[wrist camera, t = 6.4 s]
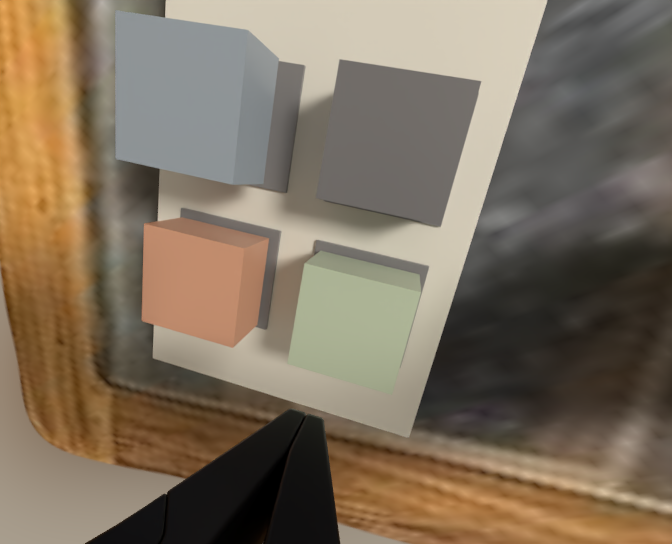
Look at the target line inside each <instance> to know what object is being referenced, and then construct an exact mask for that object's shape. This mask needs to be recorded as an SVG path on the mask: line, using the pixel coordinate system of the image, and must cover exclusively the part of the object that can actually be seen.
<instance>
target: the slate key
mask: <svg viewBox="0 0 672 544" xmlns="http://www.w3.org/2000/svg"><path fill="white" fill-rule="evenodd" d="M278 63H279V58H278V57H277V56H276V55H275V54H274V53H273V52H271V51H270V50H269V49H268V48H267V47H266V46H265V45H264V44H263V43H262V42H261V41H260V40H258V39H257V38H256V37H255V36H254V35H253V34H252V33H251V32H250V31H249V30H245V29H239V28H232V27H225V26H218V25H212V24H205V23H198V22H191V21H185V20H178V19H171V18H164V17H157V16H151V15H144V14H137V13H130V12H124V11H117V10H116V159H118V160H123V161H127V162H132V163H136V164H141V165H145V166H150V167H155V168H159V169H164V170H168V171H173V172H177V173H182V174H186V175H191V176H195V177H200V178H204V179H209V180H213V181H218V182H223V183H227V184H232V185H243V184H263V183H264V175H265V167H266V159H267V151H268V143H269V135H270V127H271V119H272V111H273V103H274V95H275V87H276V79H277V71H278Z"/></svg>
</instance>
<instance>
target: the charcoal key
mask: <svg viewBox="0 0 672 544" xmlns="http://www.w3.org/2000/svg"><path fill="white" fill-rule="evenodd" d="M480 85H481V81H477V80H471V79H465V78H458V77H452V76H445V75H439V74H432V73H426V72H419V71H413V70H406V69H400V68H394V67H387V66H381V65H374V64H368V63H361V62H355V61H348V60H342V59H339V65H338V71H337V77H336V83H335V89H334V94H333V100H332V106H331V112H330V118H329V124H328V129H327V135H326V141H325V147H324V153H323V159H322V164H321V170H320V176H319V182H318V188H317V194H316V198H317V199H322V200H326V201H331V202H335V203H340V204H345V205H349V206H354V207H358V208H363V209H368V210H372V211H377V212H381V213H386V214H390V215H395V216H400V217H404V218H409V219H413V220H418V221H423V222H427V223H432V224H436V225H441V221H442V218H443V214H444V211H445V207H446V204H447V200H448V197H449V193H450V190H451V186H452V183H453V179H454V176H455V172H456V169H457V165H458V162H459V158H460V155H461V151H462V148H463V144H464V141H465V137H466V134H467V130H468V127H469V123H470V120H471V116H472V113H473V109H474V106H475V102H476V99H477V95H478V92H479V88H480Z"/></svg>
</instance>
